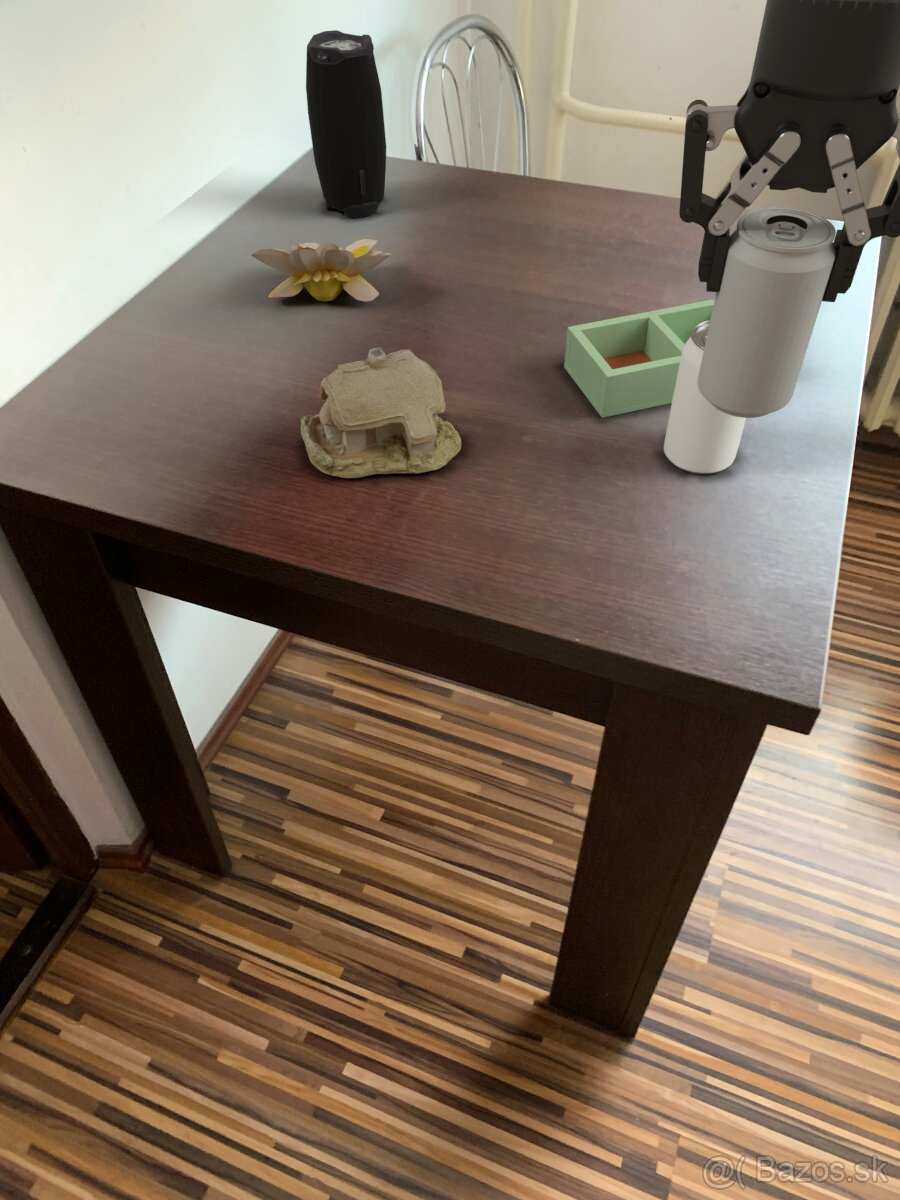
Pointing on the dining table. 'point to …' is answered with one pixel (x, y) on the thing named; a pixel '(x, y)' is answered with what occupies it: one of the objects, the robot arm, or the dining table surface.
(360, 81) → the portable speaker
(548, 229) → the dining table surface
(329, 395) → the ceramic model
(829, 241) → the beverage can
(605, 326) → the cup holder
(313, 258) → the decorative flower
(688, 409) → the can
